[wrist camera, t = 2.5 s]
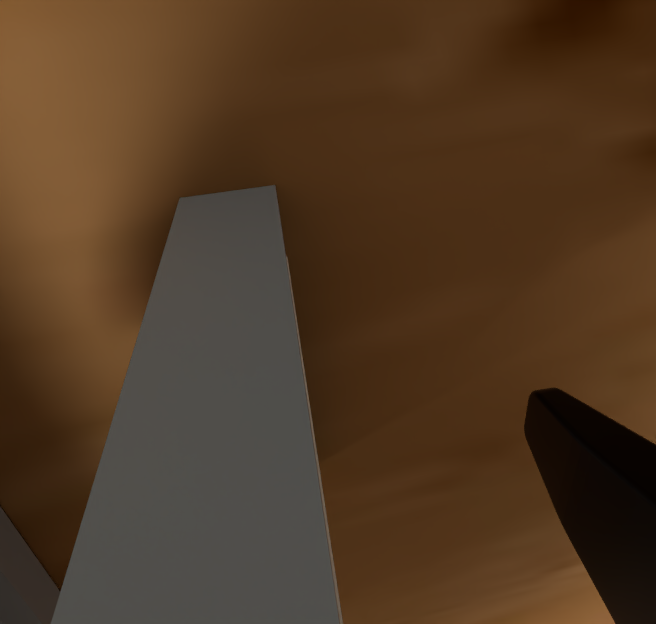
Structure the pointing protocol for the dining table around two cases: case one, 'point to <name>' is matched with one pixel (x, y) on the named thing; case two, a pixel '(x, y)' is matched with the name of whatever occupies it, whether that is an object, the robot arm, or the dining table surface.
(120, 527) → the light blue upright panel
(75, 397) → the dining table surface
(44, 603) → the rack
